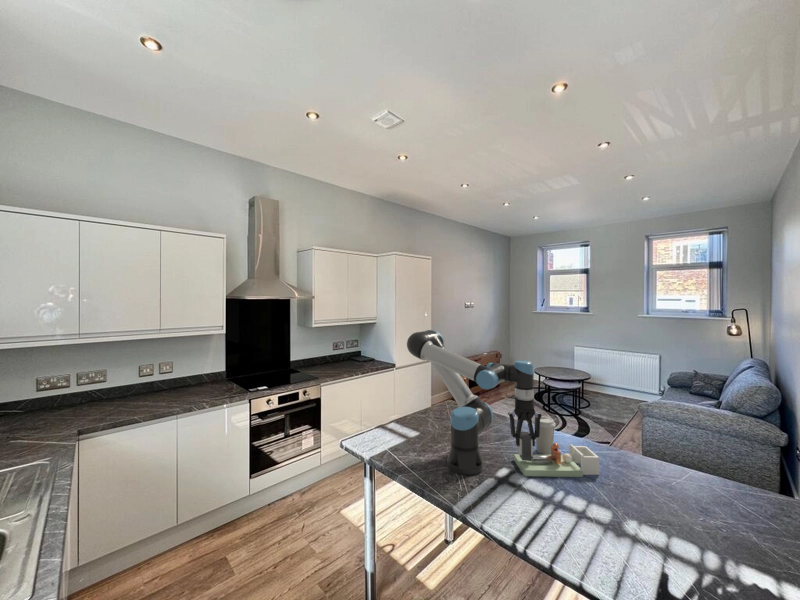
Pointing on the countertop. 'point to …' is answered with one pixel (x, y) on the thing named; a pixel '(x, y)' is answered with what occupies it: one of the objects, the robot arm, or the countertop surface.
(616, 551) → the countertop surface
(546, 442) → the coffee cup
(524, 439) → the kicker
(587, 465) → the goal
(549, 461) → the rail guide
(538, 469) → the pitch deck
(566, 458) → the ball
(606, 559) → the countertop surface
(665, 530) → the countertop surface
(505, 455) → the countertop surface
